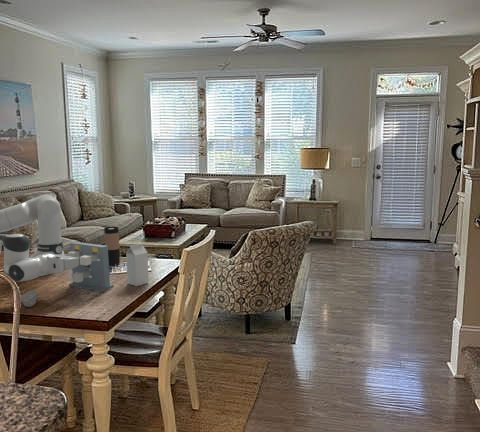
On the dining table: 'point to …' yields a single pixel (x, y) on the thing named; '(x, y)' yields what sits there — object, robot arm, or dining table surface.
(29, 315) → the dining table surface
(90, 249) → the panel
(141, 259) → the milk carton
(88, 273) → the button bottom
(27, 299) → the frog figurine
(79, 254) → the button top left
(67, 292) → the dining table surface
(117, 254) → the travel mug
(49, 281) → the dining table surface
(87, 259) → the button top right
